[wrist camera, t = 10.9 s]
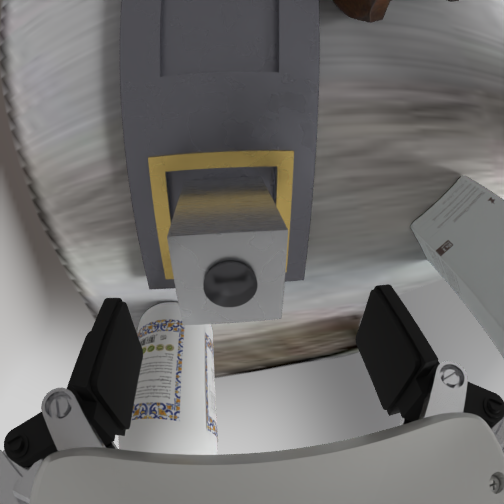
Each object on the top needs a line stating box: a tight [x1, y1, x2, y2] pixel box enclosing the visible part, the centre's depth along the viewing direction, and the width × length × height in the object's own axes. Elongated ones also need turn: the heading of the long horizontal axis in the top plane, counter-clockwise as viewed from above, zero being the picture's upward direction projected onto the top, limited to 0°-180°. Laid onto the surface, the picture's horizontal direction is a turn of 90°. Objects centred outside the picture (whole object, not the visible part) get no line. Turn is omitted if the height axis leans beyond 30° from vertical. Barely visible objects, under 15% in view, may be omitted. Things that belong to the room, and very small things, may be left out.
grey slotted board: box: [120, 0, 319, 289], centre depth 17 cm, size 12×24×2 cm, turn 0°
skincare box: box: [411, 175, 504, 358], centre depth 17 cm, size 8×6×15 cm
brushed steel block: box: [167, 177, 288, 325], centre depth 16 cm, size 5×5×8 cm
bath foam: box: [119, 302, 218, 455], centre depth 18 cm, size 7×7×20 cm
